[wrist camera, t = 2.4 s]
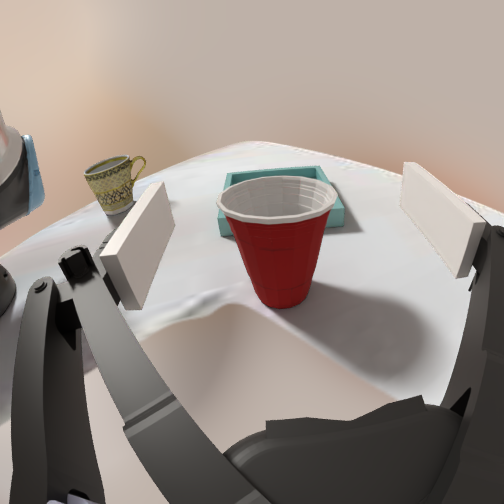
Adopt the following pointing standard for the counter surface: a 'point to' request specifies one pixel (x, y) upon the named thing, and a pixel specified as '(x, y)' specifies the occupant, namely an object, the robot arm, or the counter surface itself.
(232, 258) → the counter surface
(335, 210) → the tray
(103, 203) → the ceramic cup
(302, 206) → the plastic cup
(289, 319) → the counter surface
